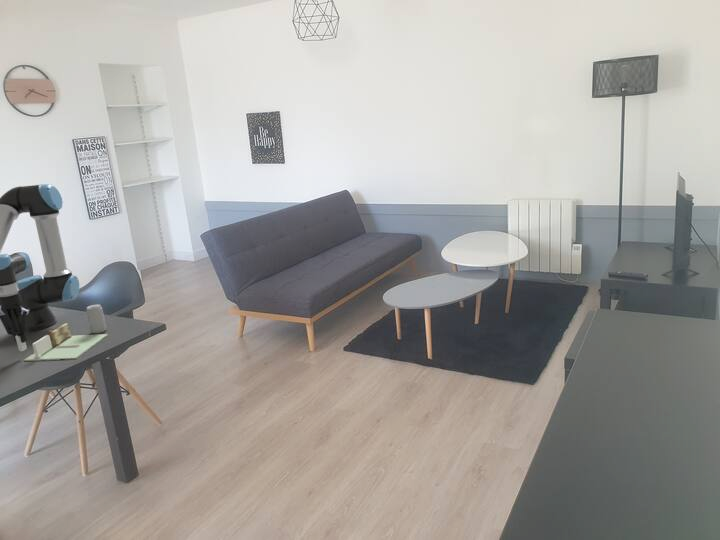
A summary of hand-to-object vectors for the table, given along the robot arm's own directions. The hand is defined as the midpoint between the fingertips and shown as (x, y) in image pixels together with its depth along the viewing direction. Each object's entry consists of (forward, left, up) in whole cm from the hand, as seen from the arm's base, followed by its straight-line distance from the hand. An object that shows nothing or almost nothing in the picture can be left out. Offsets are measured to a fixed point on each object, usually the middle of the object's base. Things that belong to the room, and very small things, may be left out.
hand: (23, 349), depth 224 cm
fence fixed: (-13, +7, -3) cm, 16 cm away
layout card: (-9, +13, -3) cm, 16 cm away
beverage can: (-26, +17, -4) cm, 31 cm away
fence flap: (-2, +7, -3) cm, 8 cm away
